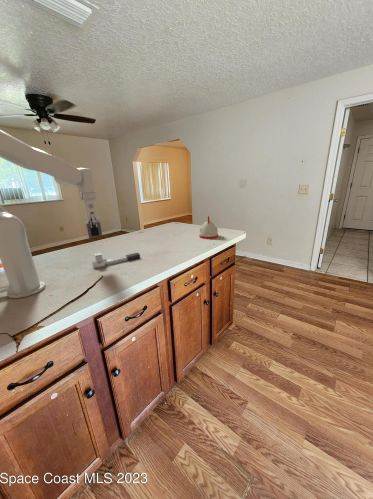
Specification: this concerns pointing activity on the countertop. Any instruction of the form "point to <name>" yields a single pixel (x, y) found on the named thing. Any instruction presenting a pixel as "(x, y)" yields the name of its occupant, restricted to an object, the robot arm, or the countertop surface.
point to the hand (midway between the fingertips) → (94, 233)
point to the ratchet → (112, 260)
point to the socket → (90, 229)
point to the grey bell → (208, 230)
